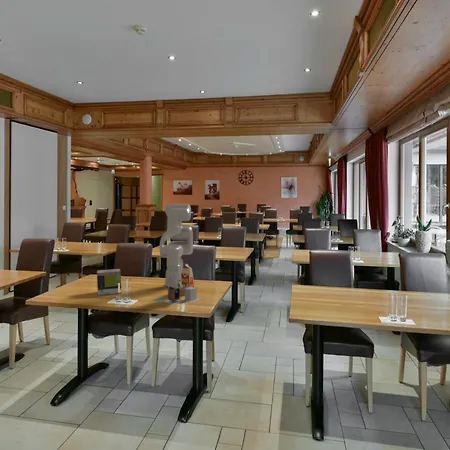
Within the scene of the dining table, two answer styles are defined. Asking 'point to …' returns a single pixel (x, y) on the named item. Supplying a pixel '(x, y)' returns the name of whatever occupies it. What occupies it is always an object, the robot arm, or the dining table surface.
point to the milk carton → (186, 278)
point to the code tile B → (190, 301)
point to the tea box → (108, 281)
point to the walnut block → (172, 294)
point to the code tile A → (174, 302)
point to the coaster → (160, 300)
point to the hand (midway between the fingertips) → (173, 297)
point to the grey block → (190, 293)
